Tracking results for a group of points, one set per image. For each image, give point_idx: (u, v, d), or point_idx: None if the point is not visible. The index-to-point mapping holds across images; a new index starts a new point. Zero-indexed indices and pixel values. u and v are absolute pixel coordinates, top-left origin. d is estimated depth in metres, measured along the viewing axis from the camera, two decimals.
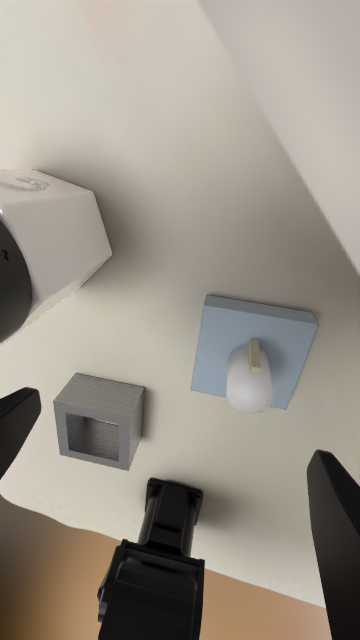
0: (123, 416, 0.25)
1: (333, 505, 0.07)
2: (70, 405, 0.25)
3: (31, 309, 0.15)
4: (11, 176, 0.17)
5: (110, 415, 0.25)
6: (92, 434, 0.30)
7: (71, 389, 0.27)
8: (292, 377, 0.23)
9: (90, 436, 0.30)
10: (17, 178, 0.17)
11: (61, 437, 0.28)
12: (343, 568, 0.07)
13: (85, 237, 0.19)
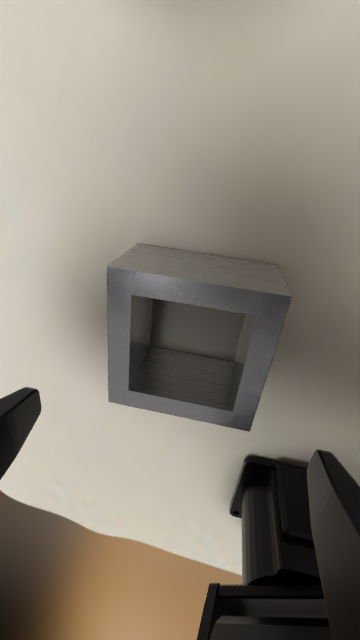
0: (273, 294, 0.11)
1: (333, 505, 0.07)
2: (146, 275, 0.11)
3: None
4: None
5: (240, 292, 0.11)
6: (165, 367, 0.16)
7: (139, 257, 0.13)
8: None
9: (163, 370, 0.16)
10: None
11: (115, 362, 0.13)
12: (343, 568, 0.07)
13: None
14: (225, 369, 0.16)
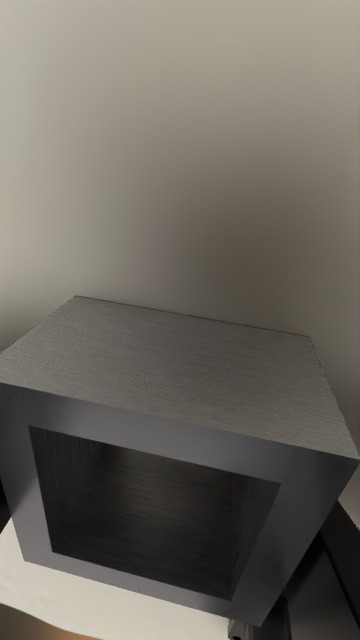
0: (318, 451, 0.05)
1: None
2: (51, 396, 0.05)
3: None
4: None
5: (246, 443, 0.05)
6: (125, 488, 0.10)
7: (59, 336, 0.07)
8: None
9: (120, 494, 0.10)
10: None
11: (23, 516, 0.08)
12: None
13: None
14: (220, 485, 0.10)
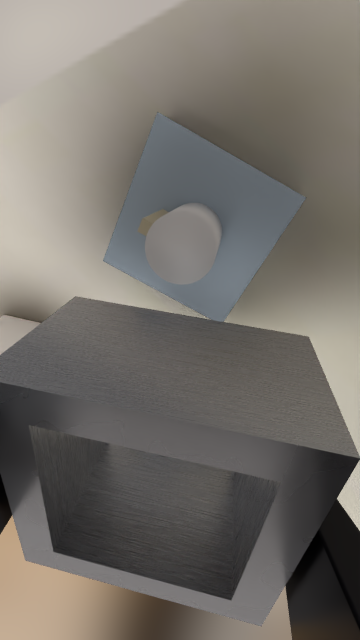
0: (317, 450, 0.05)
1: None
2: (51, 396, 0.05)
3: None
4: None
5: (245, 441, 0.05)
6: (125, 487, 0.10)
7: (59, 336, 0.07)
8: (241, 172, 0.14)
9: (121, 494, 0.10)
10: None
11: (24, 516, 0.08)
12: None
13: (4, 342, 0.20)
14: (220, 485, 0.10)
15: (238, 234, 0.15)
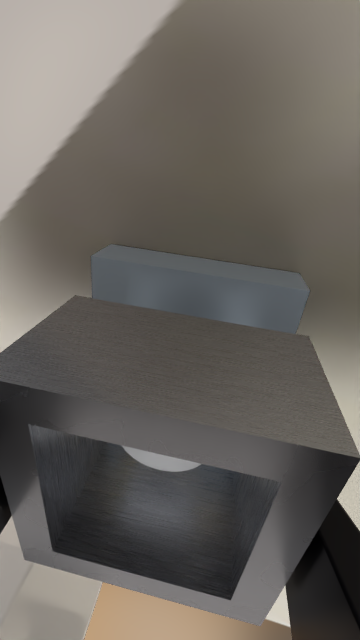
0: (318, 449, 0.05)
1: None
2: (51, 395, 0.05)
3: None
4: None
5: (246, 440, 0.05)
6: (125, 486, 0.10)
7: (59, 335, 0.07)
8: (214, 287, 0.11)
9: (120, 493, 0.10)
10: None
11: (23, 515, 0.08)
12: None
13: None
14: (220, 484, 0.10)
15: None
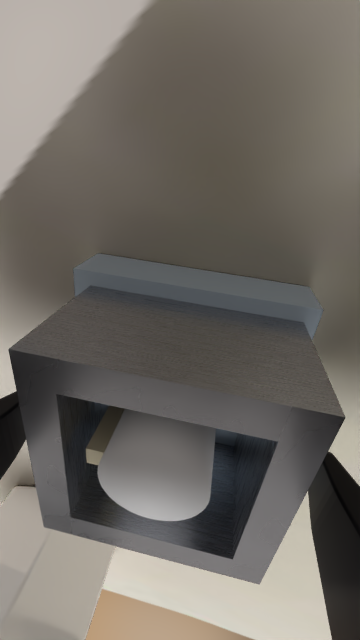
0: (309, 410, 0.06)
1: (333, 505, 0.07)
2: (78, 366, 0.06)
3: None
4: None
5: (247, 404, 0.06)
6: None
7: (80, 318, 0.08)
8: (213, 304, 0.09)
9: None
10: None
11: (46, 482, 0.08)
12: (343, 568, 0.07)
13: (13, 541, 0.16)
14: (222, 462, 0.11)
15: None
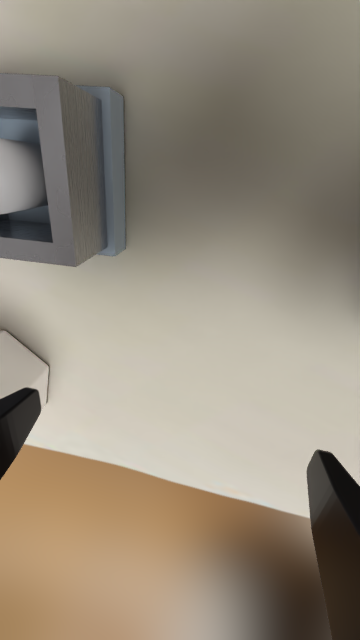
0: (41, 77, 0.11)
1: (333, 505, 0.07)
2: None
3: None
4: None
5: (10, 79, 0.11)
6: (10, 226, 0.16)
7: None
8: None
9: (5, 227, 0.15)
10: None
11: None
12: (343, 568, 0.07)
13: None
14: None
15: None
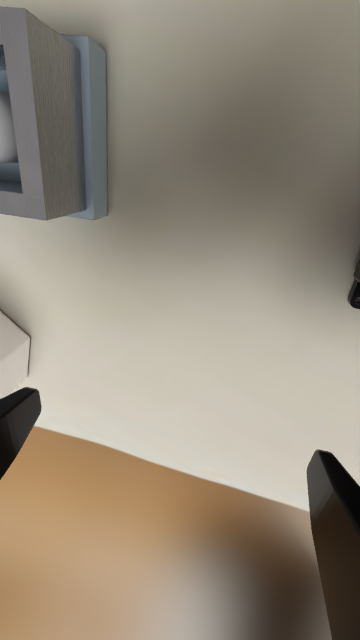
0: (8, 9, 0.10)
1: (333, 505, 0.07)
2: None
3: None
4: None
5: None
6: None
7: None
8: None
9: None
10: None
11: None
12: (343, 568, 0.07)
13: None
14: None
15: None
